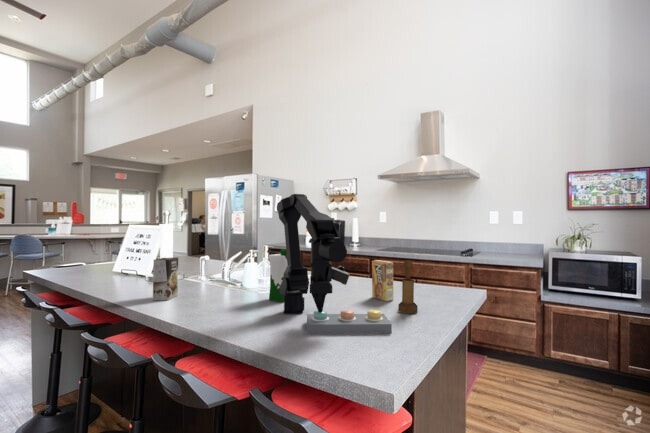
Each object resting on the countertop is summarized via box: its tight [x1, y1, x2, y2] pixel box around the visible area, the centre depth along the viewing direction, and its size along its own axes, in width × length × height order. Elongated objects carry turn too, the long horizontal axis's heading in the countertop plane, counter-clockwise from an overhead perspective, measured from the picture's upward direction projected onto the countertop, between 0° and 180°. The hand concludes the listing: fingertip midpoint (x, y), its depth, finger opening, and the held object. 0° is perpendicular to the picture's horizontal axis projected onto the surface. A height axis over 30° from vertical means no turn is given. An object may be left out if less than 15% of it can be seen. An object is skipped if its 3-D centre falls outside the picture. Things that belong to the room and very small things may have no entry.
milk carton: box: [268, 248, 287, 303], centre depth 139 cm, size 9×9×20 cm
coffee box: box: [152, 257, 179, 301], centre depth 141 cm, size 9×6×16 cm
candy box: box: [371, 259, 395, 302], centre depth 141 cm, size 9×4×15 cm, turn 33°
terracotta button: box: [340, 309, 355, 319], centre depth 103 cm, size 4×4×2 cm
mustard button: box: [366, 309, 382, 319], centre depth 103 cm, size 4×4×2 cm
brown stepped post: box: [397, 259, 418, 315], centre depth 122 cm, size 7×6×18 cm
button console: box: [305, 313, 393, 334], centre depth 103 cm, size 24×11×3 cm, turn 92°
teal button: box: [313, 309, 328, 319], centre depth 103 cm, size 4×4×2 cm
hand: (320, 311), depth 103 cm, fingers closed
